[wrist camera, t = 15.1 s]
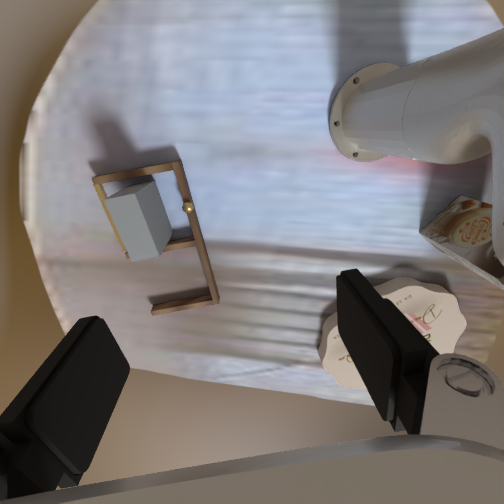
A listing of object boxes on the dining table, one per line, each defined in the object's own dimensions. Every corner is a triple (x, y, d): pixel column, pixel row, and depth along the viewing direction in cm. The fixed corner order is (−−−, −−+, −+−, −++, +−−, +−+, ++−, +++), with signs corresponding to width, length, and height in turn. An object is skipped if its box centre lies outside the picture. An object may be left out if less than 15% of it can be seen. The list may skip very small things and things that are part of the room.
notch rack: (183, 159, 38) (179, 161, 36) (221, 296, 50) (220, 305, 48) (92, 176, 39) (83, 179, 36) (151, 309, 50) (147, 318, 48)
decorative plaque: (439, 258, 45) (479, 351, 57) (425, 249, 49) (466, 339, 60) (297, 338, 52) (359, 407, 63) (293, 326, 55) (353, 394, 67)
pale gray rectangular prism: (154, 180, 39) (134, 193, 31) (173, 232, 43) (159, 256, 35) (129, 185, 40) (102, 200, 32) (149, 237, 44) (130, 262, 35)
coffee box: (460, 192, 44) (571, 224, 29) (479, 214, 46) (592, 253, 31) (417, 232, 46) (499, 279, 32) (436, 251, 49) (522, 302, 34)
